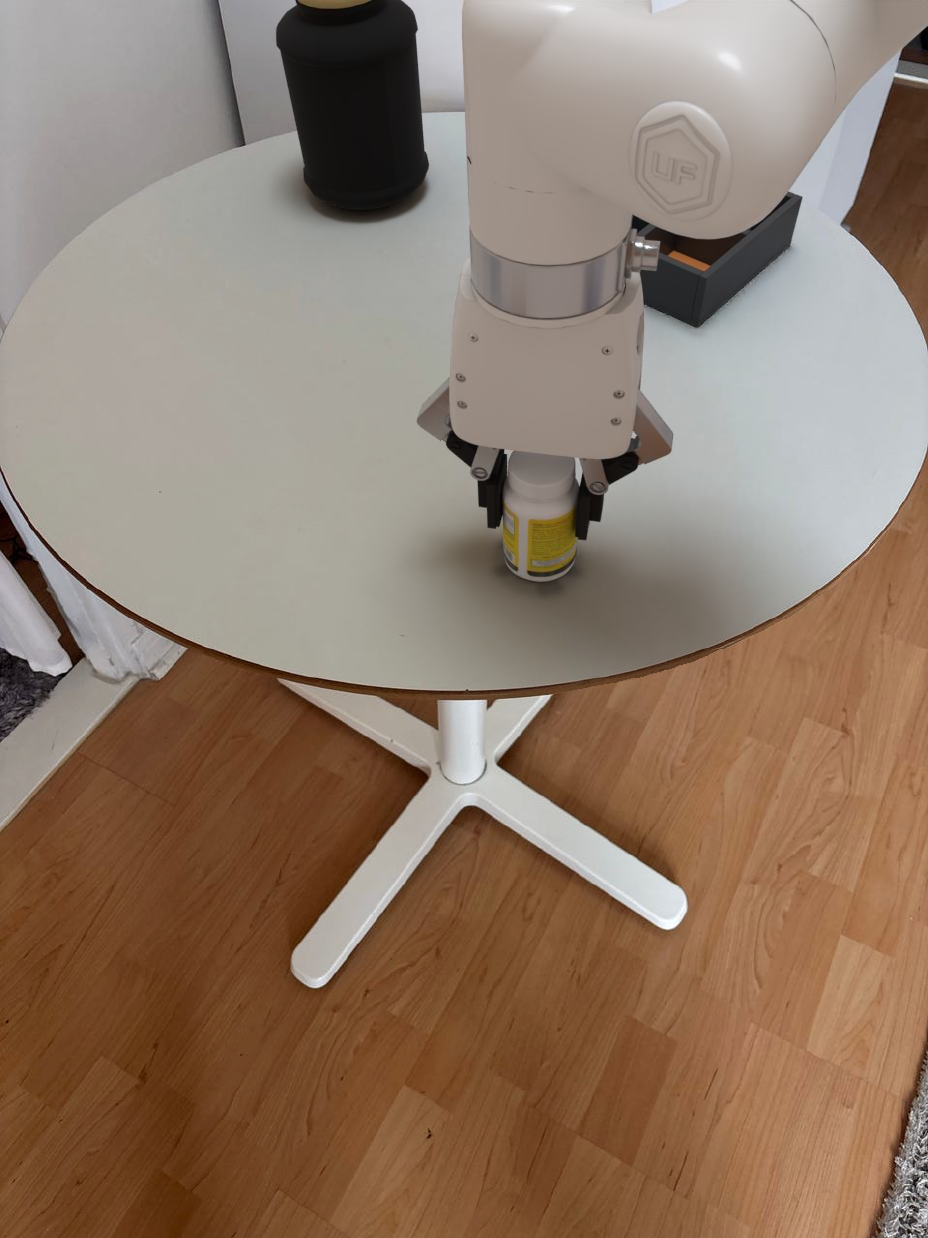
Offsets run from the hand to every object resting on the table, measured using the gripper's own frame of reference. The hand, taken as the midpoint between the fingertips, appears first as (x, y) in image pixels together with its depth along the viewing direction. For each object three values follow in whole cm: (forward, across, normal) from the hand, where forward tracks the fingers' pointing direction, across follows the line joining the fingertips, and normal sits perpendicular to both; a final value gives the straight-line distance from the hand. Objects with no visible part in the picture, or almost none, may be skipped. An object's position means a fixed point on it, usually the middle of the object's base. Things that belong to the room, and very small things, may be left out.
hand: (540, 515), depth 62 cm
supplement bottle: (+4, 0, 0) cm, 4 cm away
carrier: (+4, -6, -36) cm, 37 cm away
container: (+4, +23, -42) cm, 48 cm away
